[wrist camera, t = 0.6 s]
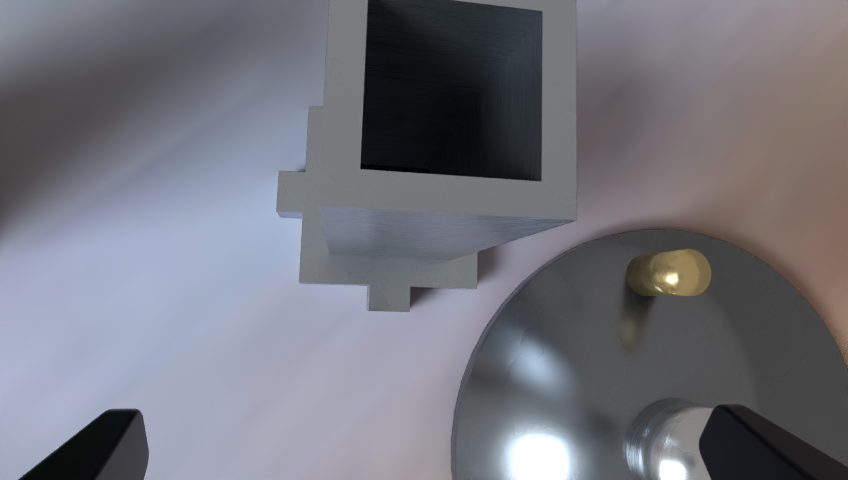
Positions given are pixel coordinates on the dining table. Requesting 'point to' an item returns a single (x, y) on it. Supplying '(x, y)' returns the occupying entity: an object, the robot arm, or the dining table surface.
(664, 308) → the disc
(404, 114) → the square pipe section
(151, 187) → the dining table surface
